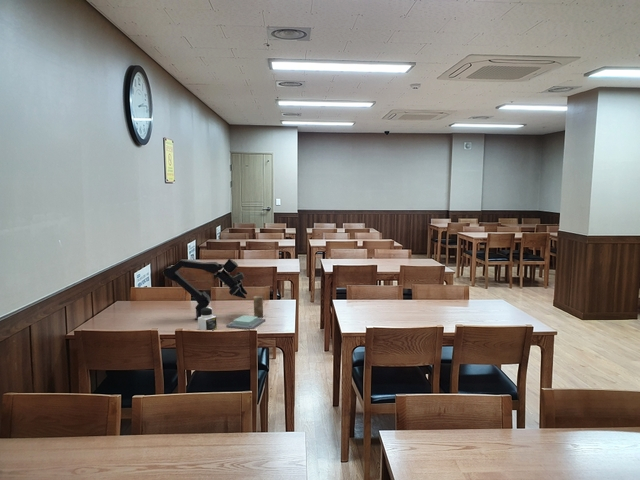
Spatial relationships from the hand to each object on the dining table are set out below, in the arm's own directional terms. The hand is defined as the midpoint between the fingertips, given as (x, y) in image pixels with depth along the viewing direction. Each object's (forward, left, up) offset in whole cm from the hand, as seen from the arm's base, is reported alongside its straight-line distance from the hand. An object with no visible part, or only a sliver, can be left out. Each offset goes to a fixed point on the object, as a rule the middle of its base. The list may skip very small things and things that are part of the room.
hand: (246, 296), depth 260 cm
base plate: (+6, -12, -13) cm, 19 cm away
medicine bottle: (-10, -26, -13) cm, 31 cm away
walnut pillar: (+6, +3, -13) cm, 15 cm away
